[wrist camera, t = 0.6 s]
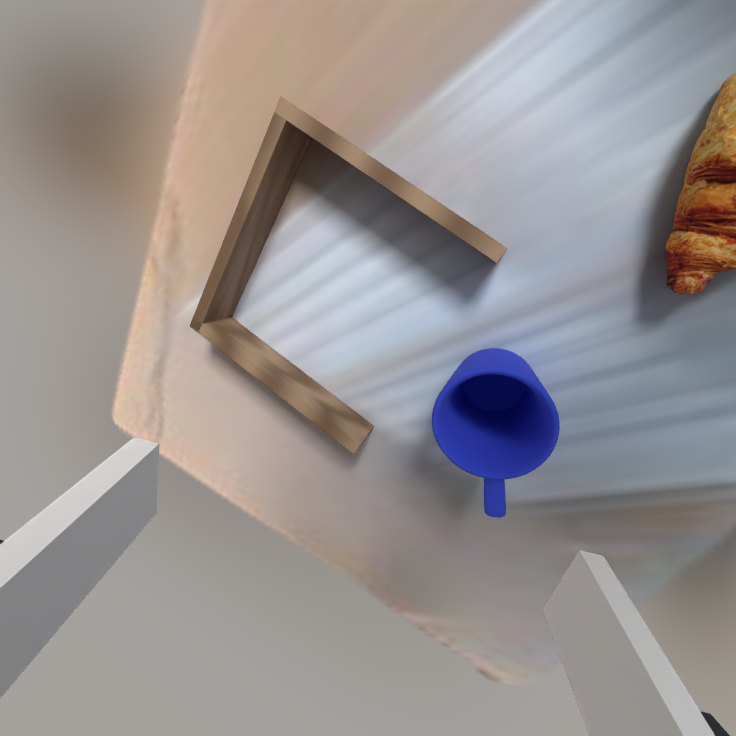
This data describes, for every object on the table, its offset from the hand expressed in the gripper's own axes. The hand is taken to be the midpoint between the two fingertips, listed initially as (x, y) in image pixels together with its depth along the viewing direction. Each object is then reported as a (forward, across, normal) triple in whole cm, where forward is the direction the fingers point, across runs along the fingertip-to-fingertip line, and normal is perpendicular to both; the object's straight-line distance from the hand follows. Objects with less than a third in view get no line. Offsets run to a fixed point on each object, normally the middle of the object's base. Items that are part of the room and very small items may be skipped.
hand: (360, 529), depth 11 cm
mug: (+23, +12, -4) cm, 26 cm away
